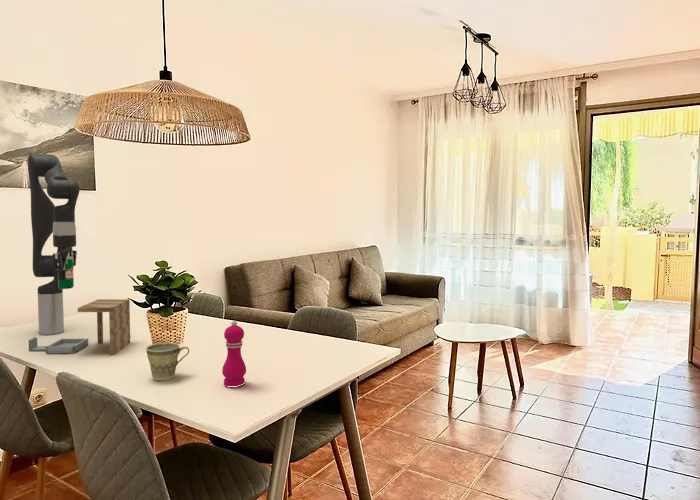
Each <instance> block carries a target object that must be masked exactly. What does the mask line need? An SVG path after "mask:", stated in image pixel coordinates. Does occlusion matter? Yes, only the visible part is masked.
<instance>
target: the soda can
mask: <svg viewBox="0 0 700 500" xmlns="http://www.w3.org/2000/svg"><path fill="white" fill-rule="evenodd" d="M64 261H65V260H62V262H64ZM65 273H66V280H64V281H60V280H59V277H58V287H59V288H60V289H63V290H68V289H69V290H70V289H73V288H74V287H75V285H74V284H75V282H74V277H75V276H74V268H73V258H72V256H69V257H68V264H66V268H65Z"/></svg>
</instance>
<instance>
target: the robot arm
mask: <svg viewBox="0 0 700 500" xmlns="http://www.w3.org/2000/svg"><path fill="white" fill-rule="evenodd" d="M27 170H28V171H27V173H28V180H29V188H30V222H31V230H32V231H31V233H32V273H33V276H34V277H35V278H53V279H52V280H51V281H50V282H48V283H45V284H42V285H41V284H40V285H39V286H38V287H37V312H38V313H37V317H38V319H37V320H38V334H39V335H42V336H43V335H44V336H50V335H58V334H62V333H63V332H64V331H65V326H64V325H65V322H64V315H65V314H64V289H60V288H59V287H58V277H59V280H60V281H64V280H66V273H65V268H66V264H68V257H69V256H72V258H73V269H74V267H76V266H77V265H76V264H77V255H78V254H77V253H78V252H77V250H73V248H74V247H77V228H76V215H75V214H76V212H75V211H76V207H77V201H78V198H79V195H80V185H79V183H78V182H77V181H76V180H72V179H69V178H68V177H67V176H66V175H65V174H64V172H63V168H62V165H61V162H60V159H59V157H57V156H56V155H54V154H45V153H43V154H42V153H31V154H29V155H28V156H27ZM39 178H44V181H45V183H46V192H45V191H44V189H43V187H42V186H41V183H40V179H39ZM50 198H51V199H54V200H67V202H66V203H65V204H60V205H55V204H54V203H53V201H52V200H51V199H50ZM51 236H52V245H53V247H54V248H57V250H56V252H54V253H52V255H51V254H50V255H49V254H48V255H46V254H44V255H43V254H42V253H43V248H44V247H45V245H46V242H47V241H48V239H49V238H50V237H51ZM62 260H65V261H64V262H62Z"/></svg>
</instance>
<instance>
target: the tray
mask: <svg viewBox="0 0 700 500" xmlns="http://www.w3.org/2000/svg"><path fill="white" fill-rule="evenodd" d="M88 345H89V338H60V339H58V340H56V341H54V342H52V343H50V344H48V345H38V337H37V336H34V337H32V338H29V339H28V351H45V354H76V353H77V352H78V351H81V350H82V349H84V348H85V347H87V346H88Z"/></svg>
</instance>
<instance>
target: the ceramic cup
mask: <svg viewBox="0 0 700 500" xmlns="http://www.w3.org/2000/svg"><path fill="white" fill-rule="evenodd" d="M184 349H187V353H186V354H185V355H183V356H182V357H181V358H180V359H179V360H178V356H179V355H180V353H181V352H182V351H183V350H184ZM145 350H146V355H147V360H148V362H149V366H150V373H151V377H152V380H153V381H157V380H159V381H158V382H162V381H161V380H163V381H169V380H172V379H174V378H175V374H176V369H177V366H178V365H179V363H180V362H182V360H183V359H185V357H187V356H188V355H189V354H190V349H189V347H187V346H182V347H180V344H178V343H175V342H159V343H153V344H151V345H148V346H146V347H145ZM173 377H174V378H173ZM171 378H172V379H171Z"/></svg>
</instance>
